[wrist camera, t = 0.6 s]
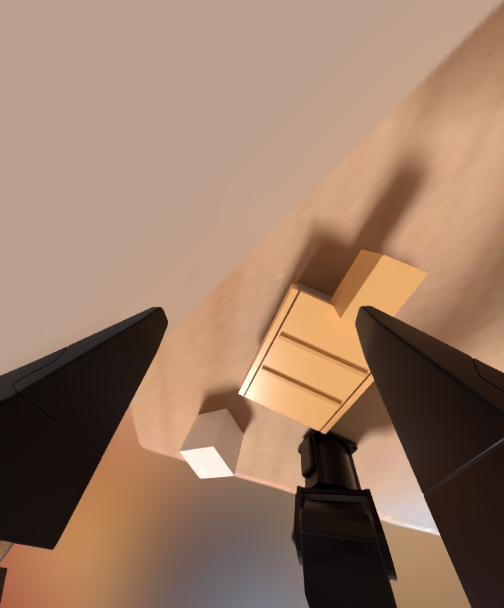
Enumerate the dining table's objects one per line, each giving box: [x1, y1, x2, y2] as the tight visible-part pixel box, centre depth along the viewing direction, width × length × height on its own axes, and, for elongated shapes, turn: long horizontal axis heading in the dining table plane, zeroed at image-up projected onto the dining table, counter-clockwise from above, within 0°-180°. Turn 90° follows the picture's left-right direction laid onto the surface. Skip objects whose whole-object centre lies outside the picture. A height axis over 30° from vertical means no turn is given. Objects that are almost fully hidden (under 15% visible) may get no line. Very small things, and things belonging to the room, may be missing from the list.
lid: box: [238, 250, 428, 434], centre depth 17 cm, size 11×19×4 cm, turn 159°
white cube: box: [179, 408, 244, 478], centre depth 29 cm, size 6×6×6 cm
